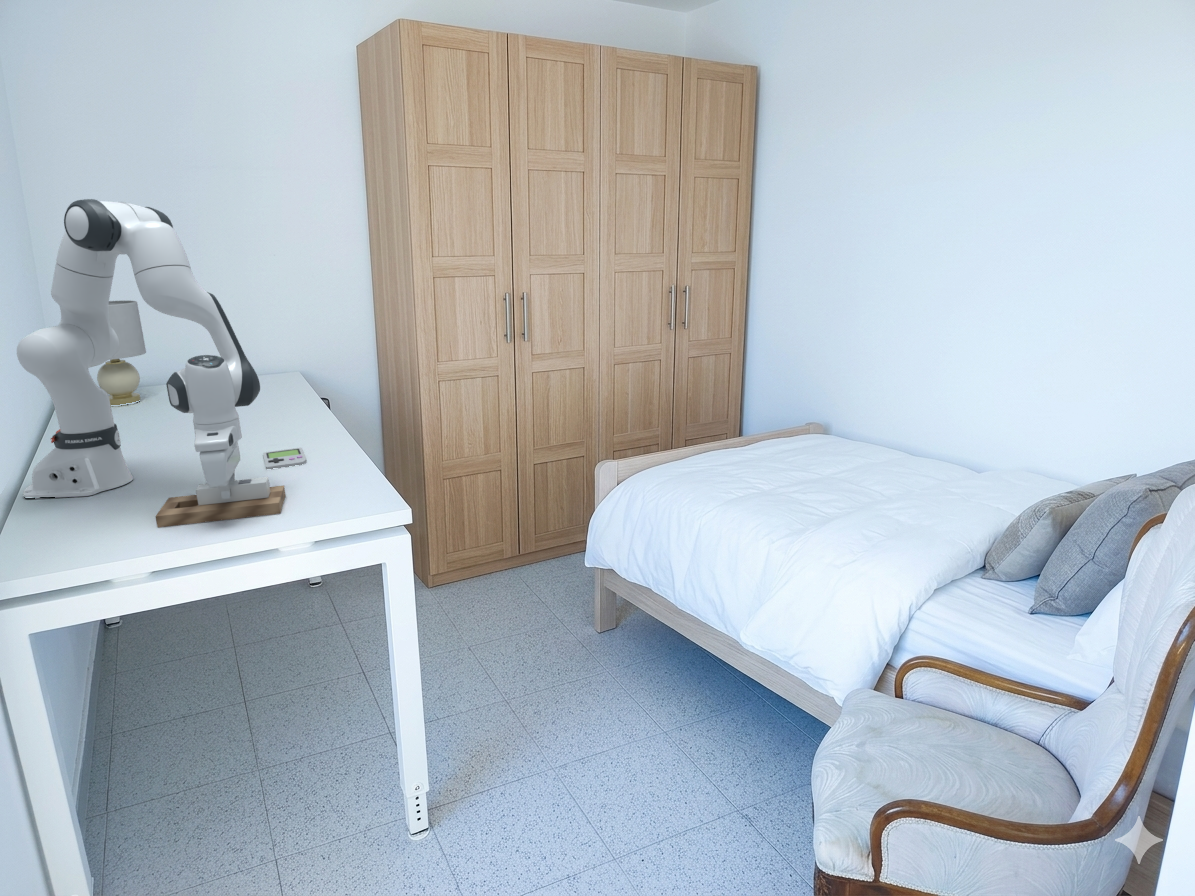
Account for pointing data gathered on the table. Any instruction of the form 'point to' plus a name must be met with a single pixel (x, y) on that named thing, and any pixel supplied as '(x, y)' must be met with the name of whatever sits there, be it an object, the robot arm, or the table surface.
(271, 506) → the keyhole board
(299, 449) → the handheld gaming console
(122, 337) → the lamp
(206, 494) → the power strip
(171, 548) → the table surface
